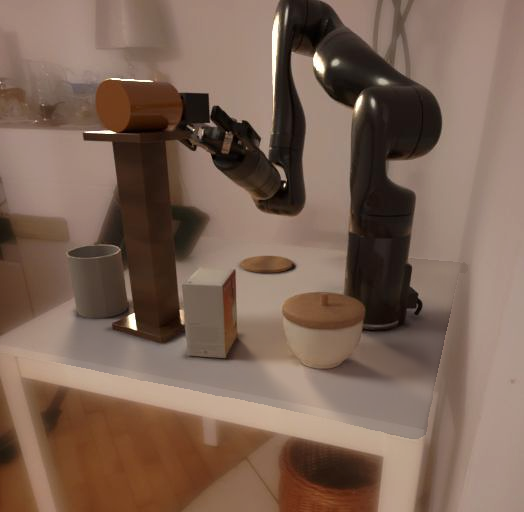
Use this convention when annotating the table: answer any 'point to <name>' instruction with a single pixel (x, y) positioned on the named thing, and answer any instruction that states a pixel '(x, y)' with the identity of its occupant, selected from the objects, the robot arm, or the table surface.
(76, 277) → the cup
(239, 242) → the table surface
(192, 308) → the small box
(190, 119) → the dark grey block
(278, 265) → the mat
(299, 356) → the trinket box
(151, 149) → the stand
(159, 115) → the bottle
